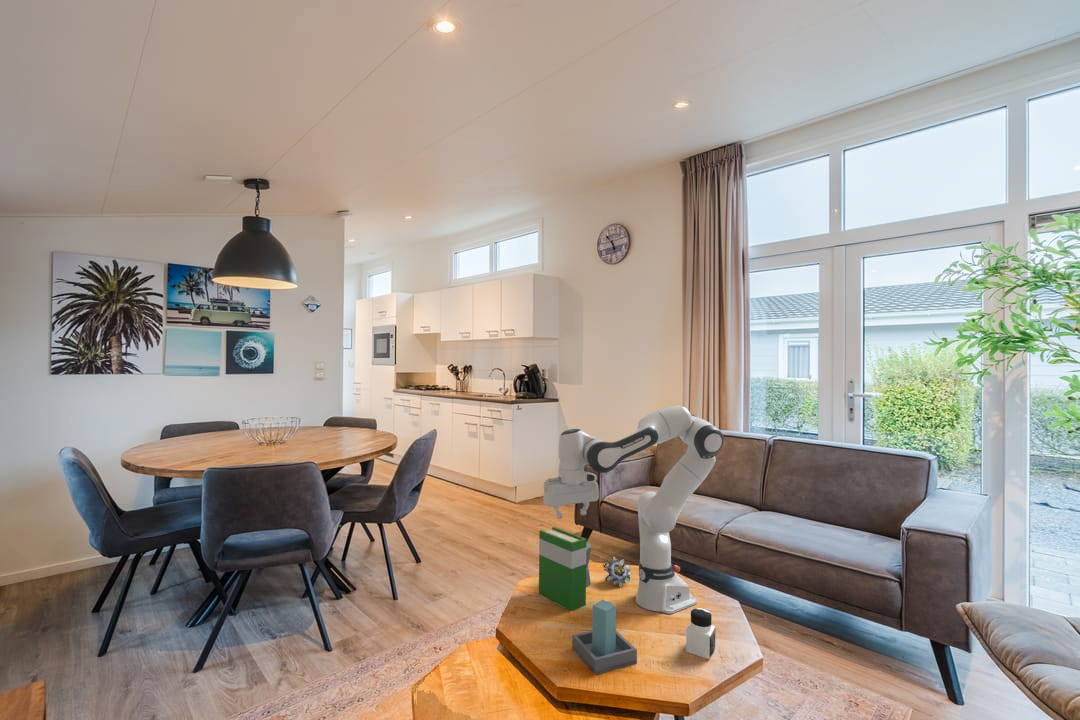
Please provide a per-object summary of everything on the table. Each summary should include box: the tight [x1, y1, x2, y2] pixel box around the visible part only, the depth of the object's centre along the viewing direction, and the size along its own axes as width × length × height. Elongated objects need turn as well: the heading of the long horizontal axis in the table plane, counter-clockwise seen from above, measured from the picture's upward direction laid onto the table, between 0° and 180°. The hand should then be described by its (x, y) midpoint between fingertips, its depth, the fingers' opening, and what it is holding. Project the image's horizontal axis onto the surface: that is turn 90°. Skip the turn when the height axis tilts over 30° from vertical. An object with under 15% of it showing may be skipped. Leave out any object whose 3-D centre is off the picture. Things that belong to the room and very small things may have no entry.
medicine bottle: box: [685, 607, 716, 660], centre depth 150 cm, size 7×7×12 cm
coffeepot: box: [586, 542, 592, 588], centre depth 198 cm, size 15×9×18 cm, turn 16°
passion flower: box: [602, 556, 633, 588], centre depth 198 cm, size 11×11×12 cm
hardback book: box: [538, 526, 587, 612], centre depth 183 cm, size 18×7×24 cm, turn 41°
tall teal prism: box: [591, 599, 617, 656], centre depth 147 cm, size 5×5×14 cm
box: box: [571, 630, 638, 675], centre depth 147 cm, size 14×14×4 cm
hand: (571, 516), depth 170 cm, fingers open, 8 cm apart
